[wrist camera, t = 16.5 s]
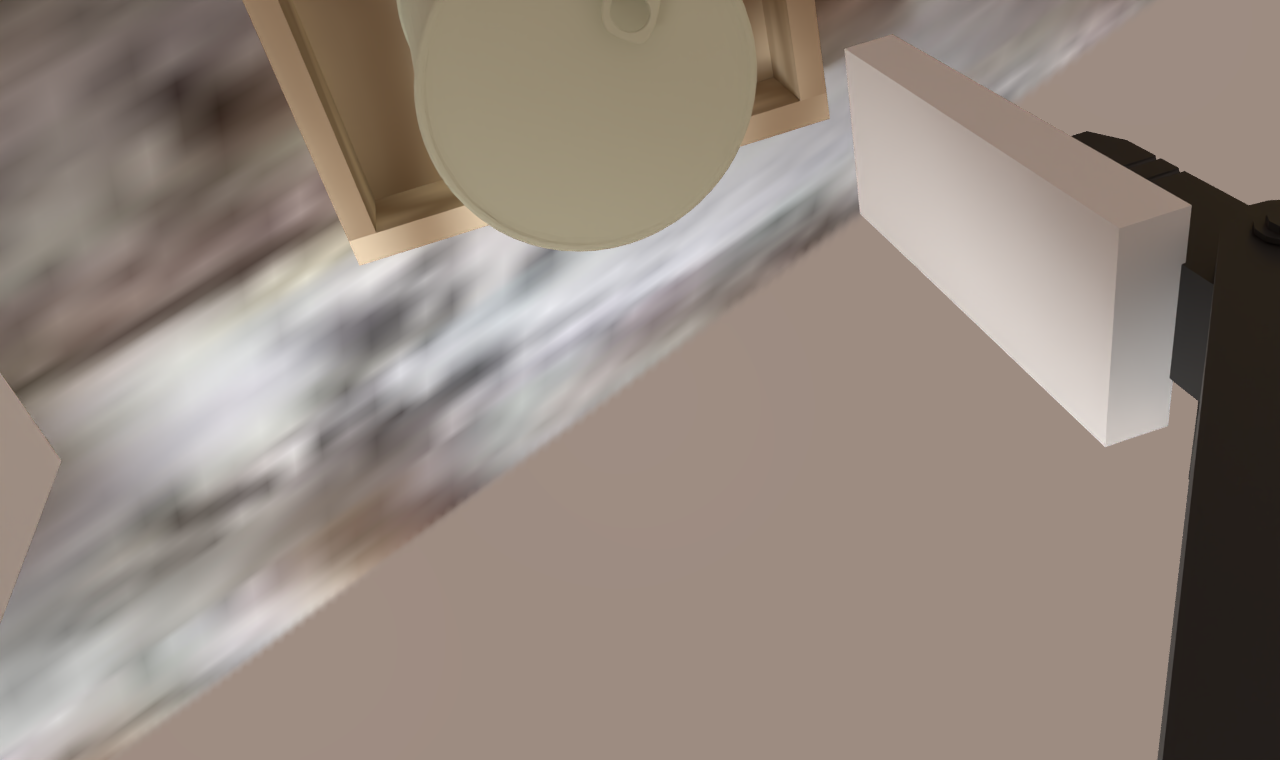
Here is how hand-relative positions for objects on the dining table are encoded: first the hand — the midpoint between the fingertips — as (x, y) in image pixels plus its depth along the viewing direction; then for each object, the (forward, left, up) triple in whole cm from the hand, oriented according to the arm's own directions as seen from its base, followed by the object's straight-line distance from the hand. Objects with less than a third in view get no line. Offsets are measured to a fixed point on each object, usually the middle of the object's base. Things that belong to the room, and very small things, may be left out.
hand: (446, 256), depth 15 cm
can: (+4, -2, -24) cm, 24 cm away
